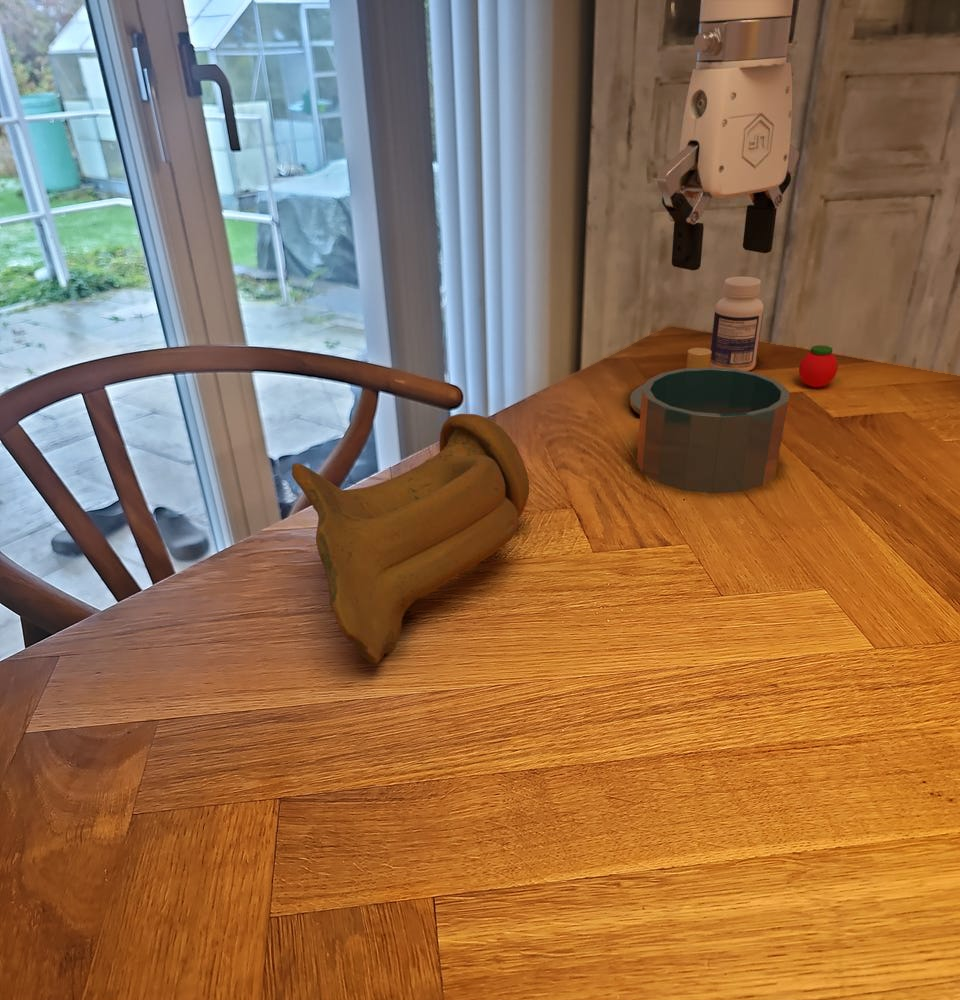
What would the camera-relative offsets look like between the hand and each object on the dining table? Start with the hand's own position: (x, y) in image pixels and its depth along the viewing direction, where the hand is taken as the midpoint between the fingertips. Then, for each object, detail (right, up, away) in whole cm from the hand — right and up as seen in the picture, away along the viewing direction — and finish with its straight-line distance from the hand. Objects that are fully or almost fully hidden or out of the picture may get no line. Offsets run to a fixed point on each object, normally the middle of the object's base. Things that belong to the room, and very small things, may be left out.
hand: (721, 259), depth 85 cm
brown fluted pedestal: (-28, -33, -19) cm, 47 cm away
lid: (-1, -12, +8) cm, 14 cm away
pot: (-3, -21, -4) cm, 22 cm away
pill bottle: (+7, -5, +20) cm, 21 cm away
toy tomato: (+14, -8, +13) cm, 21 cm away
